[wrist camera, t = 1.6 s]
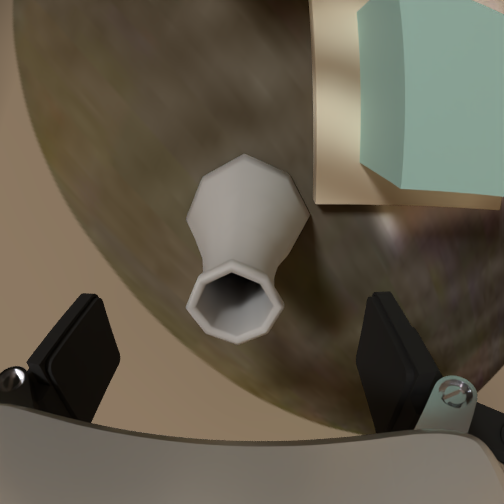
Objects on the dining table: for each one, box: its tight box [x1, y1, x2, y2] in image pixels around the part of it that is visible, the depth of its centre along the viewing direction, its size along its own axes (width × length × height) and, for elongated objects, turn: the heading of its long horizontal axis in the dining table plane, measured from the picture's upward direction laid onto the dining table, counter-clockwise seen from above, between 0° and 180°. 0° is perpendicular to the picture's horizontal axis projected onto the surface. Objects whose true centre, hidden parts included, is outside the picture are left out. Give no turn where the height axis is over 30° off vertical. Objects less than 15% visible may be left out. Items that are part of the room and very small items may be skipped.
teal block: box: [357, 0, 504, 197], centre depth 12 cm, size 9×9×6 cm
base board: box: [309, 0, 502, 210], centre depth 15 cm, size 14×14×1 cm
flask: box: [186, 154, 310, 345], centre depth 15 cm, size 7×7×10 cm
